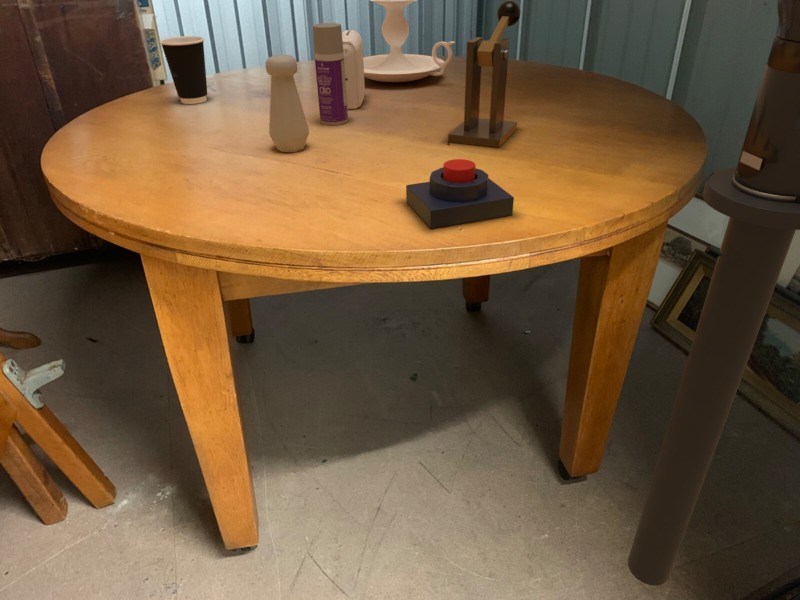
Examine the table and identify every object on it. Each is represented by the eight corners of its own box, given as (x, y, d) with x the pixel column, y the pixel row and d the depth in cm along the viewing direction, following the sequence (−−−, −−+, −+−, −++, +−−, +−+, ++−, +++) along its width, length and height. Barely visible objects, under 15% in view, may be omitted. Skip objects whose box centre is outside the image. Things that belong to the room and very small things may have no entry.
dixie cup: (223, 97, 117) (213, 37, 112) (196, 107, 111) (184, 44, 106) (191, 94, 120) (179, 35, 114) (163, 104, 114) (149, 41, 108)
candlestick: (422, 98, 114) (422, -76, 99) (328, 82, 127) (315, -74, 112) (479, 78, 128) (487, -78, 113) (389, 65, 141) (385, -76, 126)
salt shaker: (268, 144, 92) (256, 54, 85) (305, 140, 93) (295, 50, 86) (276, 156, 87) (263, 61, 80) (314, 151, 89) (305, 57, 82)
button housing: (482, 190, 75) (483, 159, 72) (512, 215, 68) (515, 181, 66) (406, 202, 72) (405, 170, 70) (430, 229, 65) (430, 194, 63)
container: (319, 125, 100) (310, 27, 92) (321, 118, 104) (313, 23, 96) (347, 124, 100) (341, 26, 92) (348, 117, 104) (342, 22, 96)
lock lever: (501, 18, 96) (500, -5, 93) (523, 19, 94) (523, -4, 92) (473, 69, 88) (471, 46, 86) (497, 71, 87) (496, 48, 84)
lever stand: (468, 124, 99) (472, 33, 91) (516, 129, 96) (524, 36, 89) (448, 142, 91) (450, 44, 84) (499, 147, 88) (506, 47, 81)
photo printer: (361, 109, 108) (357, 35, 101) (337, 109, 108) (332, 35, 102) (366, 95, 117) (363, 26, 110) (344, 95, 117) (340, 26, 110)
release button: (466, 171, 70) (467, 157, 69) (480, 182, 67) (481, 167, 66) (438, 175, 69) (438, 161, 68) (450, 186, 66) (451, 171, 65)
